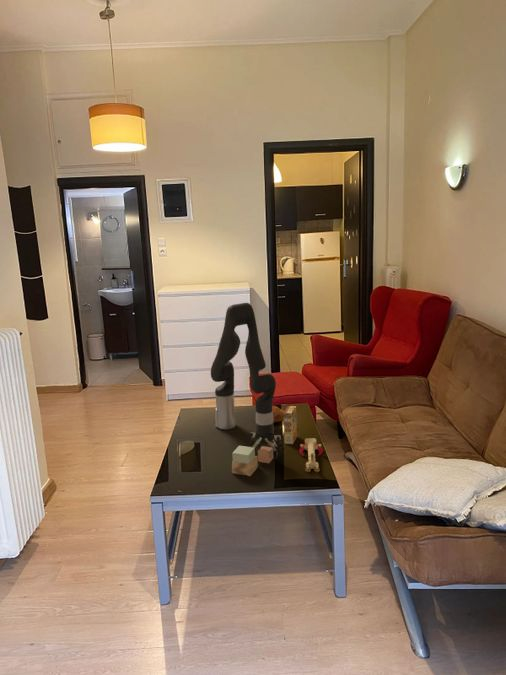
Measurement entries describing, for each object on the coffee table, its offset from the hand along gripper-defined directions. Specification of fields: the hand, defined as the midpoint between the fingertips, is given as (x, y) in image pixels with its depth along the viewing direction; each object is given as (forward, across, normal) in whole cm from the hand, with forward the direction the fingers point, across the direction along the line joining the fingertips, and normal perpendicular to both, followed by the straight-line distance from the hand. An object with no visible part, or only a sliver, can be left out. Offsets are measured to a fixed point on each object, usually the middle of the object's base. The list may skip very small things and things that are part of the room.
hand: (265, 456), depth 210 cm
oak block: (+2, -5, -11) cm, 12 cm away
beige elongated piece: (+2, +18, +8) cm, 20 cm away
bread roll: (+2, -14, +44) cm, 46 cm away
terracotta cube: (+2, 0, 0) cm, 2 cm away
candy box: (+2, +4, +22) cm, 23 cm away
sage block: (-3, -5, -11) cm, 13 cm away
